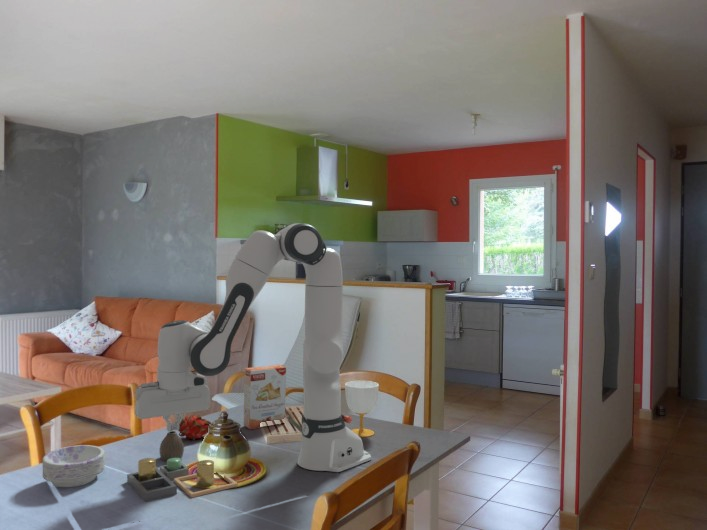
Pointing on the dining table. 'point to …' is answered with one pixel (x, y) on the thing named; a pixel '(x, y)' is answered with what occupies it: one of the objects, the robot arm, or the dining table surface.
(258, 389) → the cracker box
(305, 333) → the robot arm
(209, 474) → the cylinder
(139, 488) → the grey compartment tray
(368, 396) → the cup
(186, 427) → the dragon fruit
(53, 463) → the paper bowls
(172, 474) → the button housing
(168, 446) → the vase
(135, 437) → the dining table surface
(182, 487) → the wooden square tray
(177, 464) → the button
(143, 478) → the billet seated
